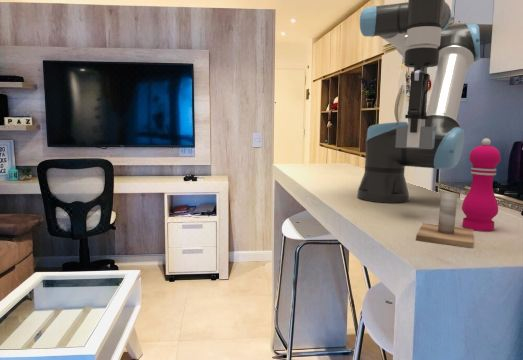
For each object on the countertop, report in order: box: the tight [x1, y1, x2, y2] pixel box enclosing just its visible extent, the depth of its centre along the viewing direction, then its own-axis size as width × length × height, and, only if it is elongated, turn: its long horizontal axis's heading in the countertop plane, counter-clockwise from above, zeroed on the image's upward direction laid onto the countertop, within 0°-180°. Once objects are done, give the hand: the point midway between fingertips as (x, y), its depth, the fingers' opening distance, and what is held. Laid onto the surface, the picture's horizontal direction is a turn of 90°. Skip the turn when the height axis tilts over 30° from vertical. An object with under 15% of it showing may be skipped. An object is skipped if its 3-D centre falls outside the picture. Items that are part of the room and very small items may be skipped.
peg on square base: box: [415, 191, 474, 249], centre depth 85 cm, size 12×10×9 cm
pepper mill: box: [461, 137, 501, 232], centre depth 93 cm, size 7×7×20 cm
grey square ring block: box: [395, 126, 436, 149], centre depth 102 cm, size 8×8×5 cm
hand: (415, 146), depth 102 cm, fingers closed on grey square ring block, 8 cm apart
